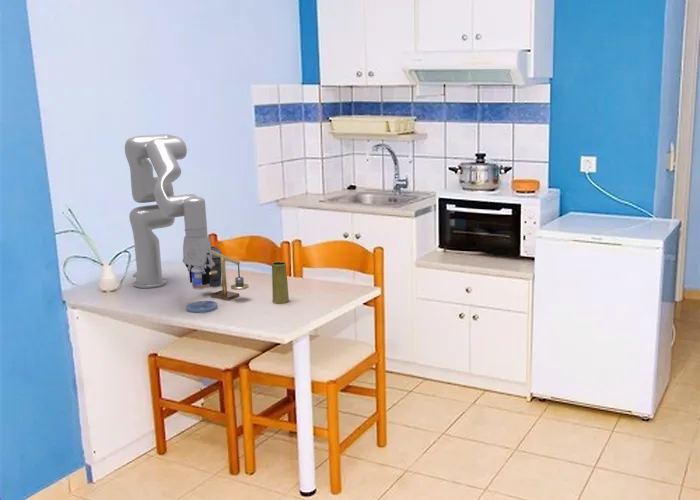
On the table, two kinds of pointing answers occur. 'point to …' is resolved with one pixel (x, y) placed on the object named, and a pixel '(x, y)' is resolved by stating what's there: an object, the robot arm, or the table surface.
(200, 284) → the pill bottle
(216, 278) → the beverage cup
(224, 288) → the balance
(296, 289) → the table surface
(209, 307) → the dish
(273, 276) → the vase
